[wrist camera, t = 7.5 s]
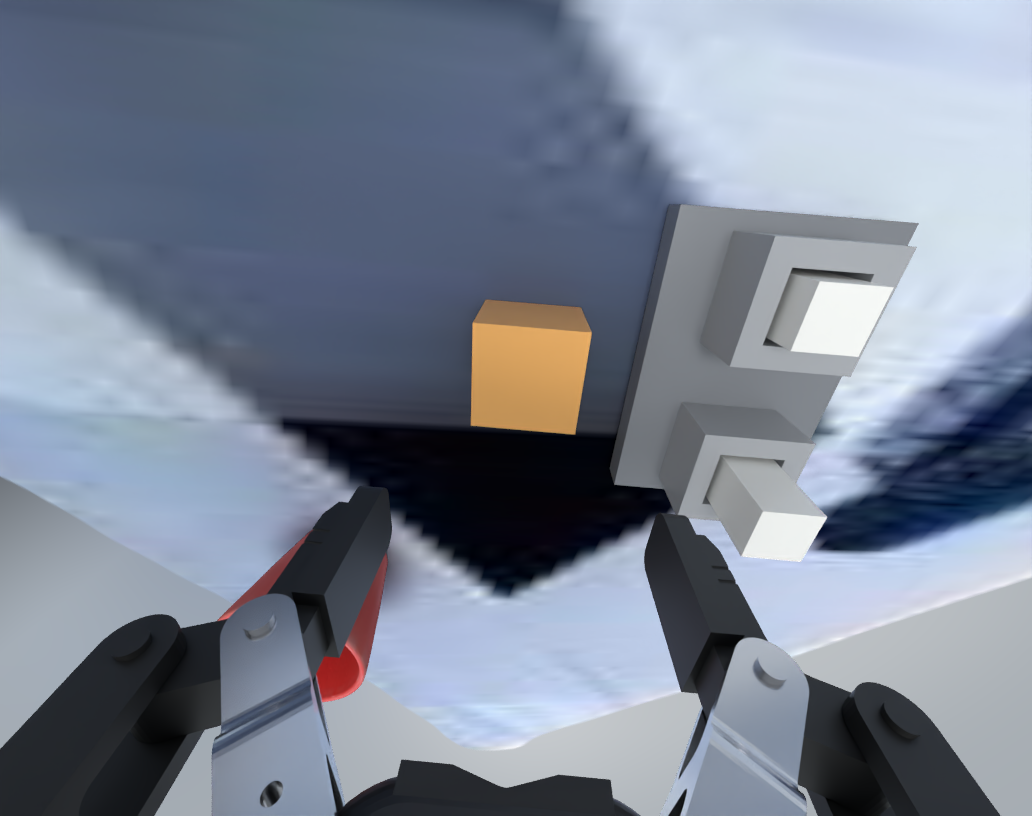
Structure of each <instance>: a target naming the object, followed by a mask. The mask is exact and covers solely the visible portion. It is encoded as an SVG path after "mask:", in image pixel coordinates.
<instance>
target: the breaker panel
mask: <svg viewBox="0 0 1032 816" xmlns="http://www.w3.org/2000/svg"><path fill="white" fill-rule="evenodd" d="M918 224H919V223H909V222H896V221H884V220H871V219H858V218H846V217H833V216H820V215H808V214H795V213H782V212H770V211H757V210H745V209H732V208H719V207H707V206H694V205H681V204H679V205H669V207H668V211H667V216H666V220H665V224H664V229H663V233H662V238H661V242H660V247H659V251H658V256H657V260H656V264H655V269H654V273H653V278H652V282H651V287H650V291H649V295H648V300H647V304H646V309H645V313H644V318H643V322H642V327H641V331H640V335H639V340H638V344H637V349H636V353H635V358H634V362H633V367H632V371H631V375H630V380H629V384H628V389H627V393H626V398H625V402H624V407H623V411H622V415H621V420H620V424H619V429H618V433H617V438H616V442H615V446H614V451H613V455H612V460H611V464H610V471H611V475H612V478H613V482H614V485H625V486H637V487H648V488H659V489H665V492H666V494H667V496H668V498H669V501H670V503H671V505H672V507H673V509H674V512H675V514H676V515H685V516H686V517H687V518H693V519H704V520H716V521H720V519H719V518H718V516H717V514H716V513H715V511H714V509H713V507H712V506H711V504H710V502H709V501H708V499H707V497H706V492H707V490H708V487H709V484H710V482H711V479H712V477H713V474H714V471H715V469H716V466H717V463H718V461H719V458H720V456H721V455H730V456H741V457H753V458H764V459H773V460H774V461H775V462H776V463H777V464H778V465H779V466H780V467H781V468H782V469H783V470H784V471H785V473H786V474H787V475H788V476H789V477H790V478H791V479H792V480H793V481H794V482H795V483H796V482H797V480H798V478H799V476H800V474H801V472H802V470H803V468H804V466H805V464H806V462H807V460H808V459H809V457H810V455H811V453H812V451H813V449H814V447H815V445H816V444H815V443H814V442H813V441H812V440H810V439H811V437H812V435H813V433H814V431H815V429H816V427H817V425H818V423H819V421H820V419H821V417H822V415H823V413H824V411H825V409H826V407H827V405H828V403H829V401H830V399H831V397H832V395H833V393H834V391H835V389H836V387H837V385H838V383H839V381H840V379H841V377H842V376H848V377H851V375H852V373H853V371H854V369H855V367H856V365H857V363H858V361H859V359H860V357H861V355H862V353H863V351H864V349H865V347H866V345H867V343H868V341H869V339H870V338H871V336H872V334H873V332H874V330H875V328H876V326H877V324H878V322H879V320H880V318H881V316H882V314H883V312H884V310H885V308H886V306H887V304H888V302H889V300H890V299H891V297H892V295H893V293H894V291H895V289H896V287H897V285H898V283H899V281H900V279H901V277H902V275H903V273H904V271H905V269H906V267H907V265H908V263H909V261H910V259H911V258H912V256H913V254H914V252H915V250H916V248H917V247H911V246H908V244H909V242H910V240H911V238H912V236H913V234H914V232H915V230H916V228H917V226H918ZM792 268H804V269H815V270H819V271H823V272H828V273H832V274H837V275H841V276H846V277H850V278H855V279H859V280H863V281H868V282H872V283H877V284H881V285H886V286H890V287H894V288H893V290H892V292H891V294H890V296H889V298H888V300H887V302H886V304H885V306H884V308H883V310H882V312H881V314H880V316H879V317H878V319H877V321H876V323H875V325H874V327H873V329H872V331H871V333H870V335H869V337H868V339H867V341H866V343H865V345H864V347H863V349H862V351H861V353H860V355H859V357H854V356H842V355H830V354H818V353H806V352H794V351H789V350H787V349H786V348H784V347H782V346H780V345H779V344H777V343H775V342H773V341H772V340H770V339H768V338H766V335H767V333H768V330H769V327H770V325H771V322H772V320H773V317H774V314H775V312H776V309H777V307H778V304H779V301H780V299H781V296H782V293H783V291H784V288H785V286H786V283H787V280H788V278H789V275H790V273H791V270H792Z"/></svg>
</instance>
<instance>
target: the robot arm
mask: <svg viewBox="0 0 1032 816" xmlns="http://www.w3.org/2000/svg"><path fill="white" fill-rule="evenodd" d="M391 533H392V523H391V514H390V504H389V495H388V490H387V489H386V488H380V487H369V486H360V487H358V489H357V490H356V491H355V493H354V495H353V496H352V498H351V499H350V501H349V502H348V503H346V502H338V503H337V504H336V505H334V506H333V507H332V508H330V509H329V510H328V511H326V512H325V513H324V514H323V515H322V516H321V518H320V519H319V520H318V522H317V523H316V525H315V526H314V528H313V531H311V532H310V533H309V535H308V536H307V538H306V539H305V540H304V544H302V545H301V546H300V547H299V549H298V550H297V552H296V553H295V555H294V556H293V557H292V559H291V560H290V562H289V563H288V565H287V566H286V567H285V569H284V570H283V572H282V573H281V575H280V576H279V577H278V579H277V580H276V582H275V583H274V585H273V586H272V587H271V589H270V590H269V591H268V593H267V594H266V595H263V596H260V597H257V598H255V599H253V600H251V601H249V602H247V603H245V604H244V605H243V606H241V607H240V608H238V609H237V610H236V611H235V612H234V613H233V614H232V615H231V616H230V617H229V618H228V619H224V620H220V621H216V622H211V623H206V624H201V625H196V626H191V627H186V628H180V626H179V624H178V623H177V621H176V620H175V619H174V618H173V617H171V616H169V615H163V614H161V615H160V614H158V615H151V616H146V617H143V618H140V619H137V620H134V621H132V622H130V623H128V624H126V625H124V626H122V627H121V628H119V629H117V630H116V631H115V632H113V633H112V634H110V635H109V636H108V637H107V638H105V639H104V640H103V641H102V642H101V643H100V644H99V645H98V646H97V647H96V648H95V649H94V650H93V651H92V652H91V653H90V654H89V655H88V656H87V657H86V659H85V660H84V661H83V662H82V663H81V664H80V665H79V666H78V667H77V668H76V669H75V670H74V671H73V672H72V673H71V674H70V676H69V677H68V678H67V679H66V680H65V681H64V682H63V683H62V684H61V685H60V686H59V687H58V688H57V689H56V690H55V691H54V693H53V694H52V695H51V696H50V697H49V698H48V699H47V700H46V701H45V702H44V703H43V704H42V705H41V707H39V709H38V710H37V711H36V712H35V713H34V714H33V715H32V716H31V717H30V718H29V719H28V720H27V721H26V722H25V723H24V725H23V726H22V727H21V728H20V729H19V730H18V731H17V732H16V733H15V734H14V735H13V736H12V737H11V738H10V739H9V740H8V742H6V744H5V745H4V746H3V747H2V748H1V749H0V816H154V815H155V813H156V812H157V810H158V808H159V807H160V805H161V803H162V802H163V800H164V798H165V796H166V795H167V793H168V791H169V790H170V788H171V786H172V784H173V783H174V781H175V779H176V778H177V776H178V774H179V773H180V771H181V769H182V768H183V766H184V764H185V762H186V761H187V759H188V757H189V756H190V754H191V752H192V750H193V749H194V747H195V745H196V744H197V742H198V740H199V739H200V737H201V735H202V733H203V732H204V730H205V729H209V728H213V727H217V726H220V725H221V734H220V735H219V736H217V737H216V738H215V740H214V743H213V748H212V816H640V815H639V814H637V813H636V812H635V811H634V810H632V809H631V808H629V807H628V806H626V805H625V804H623V803H621V802H620V801H618V800H616V799H614V798H613V796H612V788H611V781H610V780H606V779H597V778H586V777H575V776H565V775H556V776H552V777H549V778H545V779H541V780H537V781H533V782H529V783H525V784H521V785H517V786H514V787H509V788H504V787H500V786H497V785H495V784H493V783H491V782H489V781H487V780H485V779H482V778H480V777H478V776H476V775H474V774H472V773H470V772H467V771H465V770H463V769H461V768H459V767H457V766H455V765H451V764H442V763H432V762H421V761H410V760H401V764H400V768H399V772H398V776H397V777H394V778H390V779H387V780H385V781H383V782H380V783H378V784H376V785H374V786H372V787H370V788H368V789H366V790H365V791H363V792H361V793H360V794H359V795H357V796H356V797H354V798H353V799H352V800H350V801H349V802H348V803H347V804H345V801H344V796H343V792H342V787H341V783H340V779H339V775H338V771H337V767H336V763H335V759H334V755H333V751H332V746H331V741H330V736H329V732H328V727H327V722H326V718H325V713H324V709H323V704H322V699H321V694H320V689H319V685H318V680H317V676H316V673H317V671H318V669H319V667H320V665H321V662H322V660H323V658H324V657H335V658H340V655H341V653H342V651H343V649H344V646H345V644H346V642H347V639H348V637H349V635H350V633H351V630H352V628H353V626H354V624H355V621H356V619H357V617H358V615H359V612H360V610H361V608H362V605H363V603H364V601H365V599H366V596H367V594H368V592H369V590H370V587H371V585H372V583H373V580H374V578H375V576H376V574H377V571H378V569H379V567H380V565H381V562H382V560H383V558H384V556H385V553H386V551H387V549H388V546H389V543H390V539H391ZM644 563H645V571H646V574H647V578H648V581H649V585H650V588H651V591H652V595H653V598H654V601H655V605H656V608H657V612H658V615H659V618H660V622H661V625H662V628H663V632H664V635H665V638H666V642H667V645H668V649H669V652H670V655H671V659H672V662H673V665H674V669H675V672H676V676H677V679H678V682H679V686H680V689H681V692H689V693H698V695H699V699H700V702H701V705H702V708H701V709H700V711H699V714H698V717H697V720H696V722H695V725H694V728H693V731H692V733H691V736H690V739H689V742H688V744H687V747H686V750H685V753H684V756H683V759H682V761H681V764H680V767H679V770H678V773H677V775H676V778H675V781H674V784H673V786H672V788H671V791H670V793H669V795H668V798H667V800H666V802H665V804H664V807H663V809H662V811H661V813H660V816H807V803H806V798H805V796H804V794H803V793H801V792H800V791H799V790H798V786H797V785H800V786H802V787H804V788H806V789H807V791H808V793H809V796H810V798H811V801H812V803H813V805H814V808H815V810H816V813H817V815H818V816H1000V814H999V813H998V812H997V810H996V809H995V808H994V806H993V805H992V803H991V802H990V801H989V799H988V798H987V796H986V795H985V794H984V792H983V791H982V790H981V788H980V787H979V786H978V784H977V783H976V781H975V780H974V778H973V777H972V776H971V774H970V773H969V772H968V770H967V769H966V768H965V766H964V765H963V763H962V762H961V760H960V759H959V758H958V756H957V755H956V753H955V752H954V751H953V749H952V748H951V746H950V745H949V744H948V742H947V741H946V740H945V738H944V737H943V735H942V734H941V733H940V731H939V730H938V728H937V727H936V726H935V725H934V723H933V722H932V721H931V720H930V719H929V718H928V716H927V715H926V714H925V713H924V712H923V711H922V710H921V709H920V708H918V707H917V706H916V705H915V704H914V703H912V702H911V701H910V700H909V699H907V698H906V697H904V696H903V695H901V694H900V693H898V692H896V691H895V690H893V689H891V688H889V687H886V686H883V685H881V684H877V683H871V682H866V683H862V684H860V685H858V686H857V687H856V688H855V690H854V691H853V692H852V693H851V692H848V691H845V690H843V689H840V688H838V687H835V686H833V685H830V684H828V683H825V682H823V681H820V680H817V679H815V678H812V677H810V676H808V675H806V674H804V673H803V672H802V670H801V669H800V667H799V666H798V664H797V663H796V662H795V661H794V660H793V659H792V658H791V657H790V656H789V655H788V654H787V653H786V652H784V651H783V650H782V649H780V648H779V647H777V646H776V645H774V644H772V643H770V642H768V641H767V639H766V637H765V635H764V634H763V632H762V630H761V628H760V626H759V624H758V622H757V620H756V618H755V617H754V615H753V613H752V611H751V609H750V607H749V605H748V603H747V601H746V600H745V598H744V596H743V594H742V592H741V590H740V588H739V586H738V584H736V583H735V579H734V577H733V575H732V573H731V571H730V570H728V566H727V564H726V562H725V560H724V558H723V556H722V554H721V552H720V551H719V549H718V548H717V547H716V546H715V545H714V544H713V543H712V542H711V541H710V540H709V539H708V538H707V537H706V536H704V535H696V533H695V531H694V529H693V527H692V525H691V523H690V521H689V519H688V518H687V517H686V516H685V515H674V514H663V513H659V514H657V516H656V518H655V521H654V524H653V527H652V530H651V533H650V537H649V540H648V543H647V546H646V549H645V556H644Z"/></svg>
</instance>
